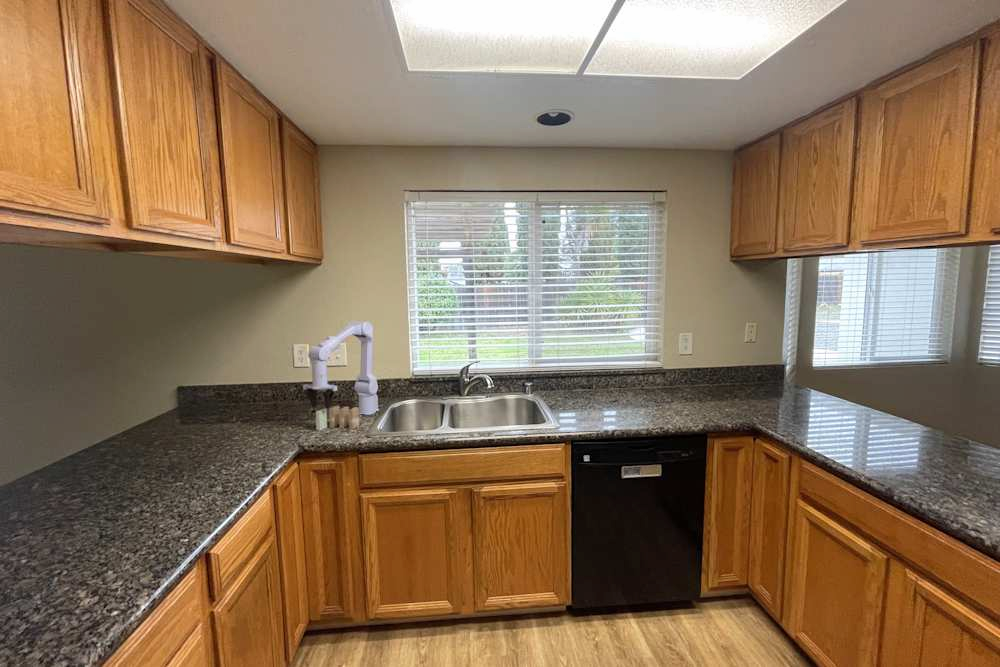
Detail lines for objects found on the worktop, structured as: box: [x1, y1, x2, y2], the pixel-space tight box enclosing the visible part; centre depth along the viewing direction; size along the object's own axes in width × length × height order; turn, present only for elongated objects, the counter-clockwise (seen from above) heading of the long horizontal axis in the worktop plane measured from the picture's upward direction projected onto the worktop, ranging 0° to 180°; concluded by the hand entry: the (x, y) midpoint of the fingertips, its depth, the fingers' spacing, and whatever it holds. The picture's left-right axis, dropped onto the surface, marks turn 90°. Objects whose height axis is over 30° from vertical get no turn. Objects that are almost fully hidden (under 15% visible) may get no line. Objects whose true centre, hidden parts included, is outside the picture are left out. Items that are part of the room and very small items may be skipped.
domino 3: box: [339, 406, 350, 429], centre depth 178 cm, size 2×5×8 cm, turn 169°
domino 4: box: [348, 406, 360, 430], centre depth 177 cm, size 2×5×8 cm, turn 169°
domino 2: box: [328, 405, 341, 428], centre depth 179 cm, size 2×5×8 cm, turn 169°
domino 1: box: [315, 408, 328, 432], centre depth 175 cm, size 2×5×8 cm, turn 169°
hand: (320, 407), depth 174 cm, fingers open, 6 cm apart
